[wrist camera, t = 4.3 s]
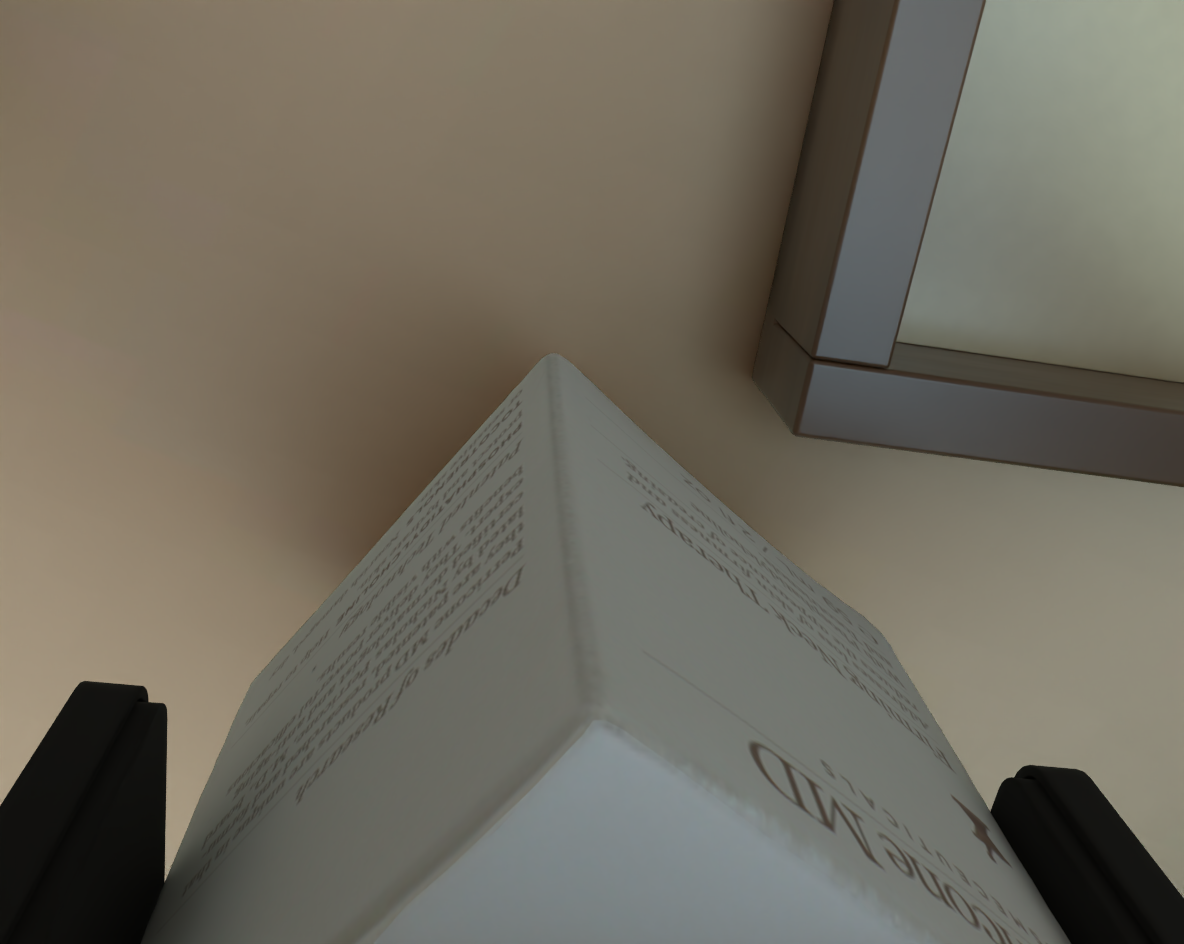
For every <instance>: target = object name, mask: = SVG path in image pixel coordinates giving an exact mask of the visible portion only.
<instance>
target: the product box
mask: <svg viewBox="0 0 1184 944" xmlns="http://www.w3.org/2000/svg"><path fill="white" fill-rule="evenodd" d="M141 944H1071V943H1070V941H1069V939H1068V938H1067V936H1066V934H1065V933H1064V931H1063V930H1062V928H1061V927H1060V925H1059V923H1058V922H1057V920H1056V919H1055V917H1054V916H1053V914H1052V913H1051V911H1050V909H1049V908H1048V906H1047V904H1046V903H1045V901H1044V899H1043V898H1042V896H1041V894H1040V893H1039V891H1038V889H1037V888H1036V886H1035V884H1034V883H1033V881H1032V879H1031V878H1030V876H1029V875H1028V873H1027V871H1026V870H1025V868H1024V867H1023V865H1022V864H1021V862H1020V861H1019V859H1018V857H1017V856H1016V854H1015V852H1014V851H1013V849H1012V848H1011V846H1010V844H1009V843H1008V841H1007V839H1006V838H1005V836H1004V834H1003V833H1002V831H1001V829H1000V828H999V826H998V824H997V823H996V821H995V819H994V817H993V816H992V814H991V812H990V811H989V809H988V807H987V805H986V804H985V802H984V800H983V798H982V797H981V795H980V794H979V792H978V791H977V789H976V788H975V786H974V784H973V782H972V780H971V779H970V777H969V775H968V773H967V772H966V770H965V768H964V767H963V765H962V763H961V762H960V760H959V758H958V757H957V755H956V754H955V752H954V750H953V749H952V747H951V746H950V744H949V742H948V741H947V739H946V737H945V736H944V734H943V732H942V730H941V729H940V727H939V726H938V724H937V722H936V721H935V719H934V717H933V716H932V714H931V713H930V711H929V709H928V708H927V706H926V704H925V703H924V701H923V699H922V697H921V696H920V694H919V692H918V691H917V689H916V688H915V686H914V684H913V683H912V681H911V680H910V678H909V676H908V675H907V673H906V672H905V670H904V668H903V667H902V665H901V664H900V662H899V660H898V659H897V657H896V655H895V653H894V651H893V649H892V647H891V646H890V644H889V643H888V641H887V640H886V639H885V637H884V636H883V635H882V633H881V632H880V631H878V630H877V629H876V628H875V627H874V626H873V625H872V624H871V623H870V622H869V621H868V620H867V619H866V618H865V617H864V616H862V615H861V614H859V613H858V612H857V611H855V610H854V609H852V608H851V607H850V606H848V605H847V604H845V603H844V602H842V601H841V600H840V599H838V598H837V597H836V596H835V595H833V594H832V593H831V592H830V591H828V590H827V589H826V588H824V587H823V586H821V585H820V584H818V583H817V582H816V581H815V580H813V579H812V578H811V577H810V576H808V575H807V574H806V573H805V572H803V571H802V570H801V569H800V568H799V567H797V566H796V565H795V564H794V563H793V562H791V561H790V560H789V559H788V558H786V557H785V556H784V555H783V554H782V553H780V552H779V551H778V550H777V549H775V548H774V547H773V546H772V545H771V544H770V543H768V542H767V541H766V540H765V539H764V538H763V537H761V536H760V535H759V534H758V533H757V532H756V531H754V530H753V529H752V528H751V527H750V526H748V525H747V524H746V523H745V522H744V521H743V520H742V519H740V518H739V517H738V516H737V515H736V514H735V513H734V512H732V511H731V510H730V509H729V508H728V507H727V506H726V505H724V504H723V503H722V502H721V501H720V500H719V499H718V498H716V497H715V496H714V495H713V494H712V493H711V492H710V491H709V490H708V489H707V488H705V487H704V486H703V485H702V484H701V483H700V482H699V481H697V480H696V479H695V478H694V477H693V476H692V475H691V474H690V473H688V472H687V471H686V470H685V469H684V468H683V467H682V466H681V465H679V464H678V463H677V462H676V461H675V460H674V459H673V458H672V457H671V456H669V455H668V454H667V453H666V452H665V451H664V450H663V449H662V448H661V447H660V446H658V445H657V444H656V443H655V442H654V441H653V440H652V439H651V438H650V437H649V436H648V435H647V434H646V433H644V432H643V431H642V430H641V429H640V428H639V427H638V426H637V425H636V424H635V423H634V422H633V421H632V420H631V419H630V418H628V417H627V416H626V415H625V414H624V413H623V412H622V411H621V410H620V409H619V408H618V407H617V406H616V405H615V404H614V403H613V402H612V401H611V400H610V399H609V398H608V397H607V396H605V395H604V394H603V393H602V392H601V391H600V390H599V389H598V388H597V387H596V386H595V385H594V384H593V383H592V382H591V381H590V380H589V379H588V378H587V377H586V376H584V375H583V374H582V373H581V372H580V371H579V370H578V369H577V368H576V367H575V366H574V365H573V364H572V363H571V362H569V361H568V360H567V359H566V358H564V357H562V356H561V355H559V354H556V353H551V354H548V355H546V356H545V357H543V358H542V359H541V360H540V361H539V362H538V363H537V364H536V365H535V366H534V367H533V368H532V370H531V371H530V372H529V373H528V374H527V375H526V377H525V378H524V379H523V380H522V381H521V382H520V383H519V384H518V386H517V387H515V388H514V389H513V390H512V391H511V393H510V394H509V395H508V396H507V398H506V399H505V400H504V401H503V402H502V403H501V404H500V406H499V407H498V408H497V409H496V410H495V411H494V412H493V413H492V414H491V416H490V417H489V418H488V419H487V420H486V421H485V422H484V423H483V424H482V426H481V427H480V428H479V429H478V430H477V431H476V432H475V433H474V434H473V436H472V437H471V438H470V439H469V440H468V441H467V442H466V443H465V445H464V446H463V447H462V448H461V449H460V450H459V451H458V452H457V453H456V455H455V456H454V457H453V458H452V459H451V460H450V461H449V462H448V464H447V465H446V466H445V467H444V468H443V469H442V470H441V471H440V472H439V473H438V474H437V476H436V477H435V478H434V479H433V480H432V481H431V482H430V484H429V485H428V486H427V487H426V488H425V489H424V490H423V491H422V493H421V494H420V495H419V496H418V497H417V498H416V499H415V500H414V502H413V503H412V504H411V505H410V506H409V507H408V508H407V509H406V511H405V512H404V513H403V514H402V515H401V516H400V517H399V518H398V520H397V521H396V522H395V523H394V524H393V525H392V526H391V527H390V529H389V530H388V531H387V532H386V533H385V534H384V535H383V537H382V538H381V539H380V540H379V541H378V542H377V543H376V544H375V546H374V547H373V548H372V549H371V550H370V551H369V552H368V554H367V555H366V556H365V557H364V558H363V559H362V560H361V561H360V563H359V564H358V565H357V566H356V567H355V568H354V569H353V570H352V571H351V572H350V573H349V574H348V576H347V577H346V578H345V579H344V580H343V581H342V583H341V584H340V585H339V586H338V587H337V588H336V589H335V591H334V592H333V593H332V594H331V595H330V596H329V597H328V598H327V599H326V600H325V601H324V602H323V604H322V605H321V606H320V607H319V608H318V610H317V611H316V612H315V613H314V614H313V615H312V616H311V617H310V618H309V619H308V620H307V621H306V622H305V623H304V625H303V626H302V627H301V628H300V629H299V630H298V631H297V632H296V633H295V635H294V636H293V637H292V638H291V639H290V640H289V641H288V642H287V644H286V645H285V646H284V647H283V648H282V649H281V650H280V651H279V652H278V653H277V655H276V656H275V657H274V658H273V659H272V660H271V661H270V662H269V664H268V665H267V666H266V667H265V668H264V669H263V670H262V671H261V673H260V674H259V675H258V676H257V677H256V678H255V679H254V681H253V682H252V683H251V685H250V687H249V689H248V691H247V693H246V696H245V698H244V700H243V702H242V704H241V706H240V708H239V710H238V712H237V714H236V717H235V719H234V721H233V723H232V726H231V728H230V731H229V733H228V736H227V738H226V741H225V743H224V745H223V747H222V749H221V752H220V754H219V756H218V758H217V760H216V763H215V766H214V768H213V771H212V773H211V775H210V777H209V779H208V782H207V784H206V786H205V788H204V790H203V792H202V794H201V797H200V799H199V802H198V804H197V806H196V809H195V811H194V814H193V816H192V818H191V821H190V823H189V826H188V828H187V831H186V833H185V835H184V838H183V840H182V843H181V845H180V847H179V850H178V852H177V855H176V857H175V859H174V862H173V864H172V867H171V869H170V871H169V874H168V876H167V878H166V881H165V883H164V886H163V888H162V890H161V893H160V896H159V898H158V901H157V904H156V906H155V909H154V911H153V913H152V915H151V918H150V920H149V922H148V925H147V928H146V931H145V933H144V936H143V939H142V942H141Z"/></svg>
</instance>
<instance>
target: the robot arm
mask: <svg viewBox="0 0 1184 944" xmlns="http://www.w3.org/2000/svg"><path fill="white" fill-rule="evenodd" d="M166 763H167V709H166V705H165V704H163V703H151V702H148V693H147V690H146V688H145V687H144V686H135V685H124V684H113V683H102V682H90V681H83V682H81V683H79V685H78V686H77V687H76V688H75V690H74V691H73V693H72V694H71V696H70V697H69V699H68V701H67V702H66V704H65V705H64V707H63V708H62V710H61V712H60V713H59V715H58V716H57V718H56V719H55V721H54V723H53V724H52V726H51V727H50V729H49V730H48V732H47V734H46V735H45V737H44V738H43V740H42V741H41V743H40V745H39V746H38V748H37V749H36V751H35V752H34V754H33V755H32V757H31V759H30V760H29V762H28V763H27V765H26V766H25V768H24V770H23V771H22V773H21V774H20V776H19V777H18V779H17V781H16V782H15V784H14V785H13V787H12V788H11V790H10V792H9V793H8V795H7V796H6V798H5V799H4V801H3V803H2V804H1V806H0V944H141V942H142V939H143V936H144V933H145V931H146V928H147V925H148V922H149V920H150V918H151V915H152V913H153V911H154V909H155V906H156V904H157V901H158V898H159V896H160V893H161V890H162V888H163V886H164V877H165V820H166ZM991 814H992V816H993V817H994V819H995V821H996V823H997V824H998V826H999V828H1000V829H1001V831H1002V833H1003V834H1004V836H1005V838H1006V839H1007V841H1008V843H1009V844H1010V846H1011V848H1012V849H1013V851H1014V852H1015V854H1016V856H1017V857H1018V859H1019V861H1020V862H1021V864H1022V865H1023V867H1024V868H1025V870H1026V871H1027V873H1028V875H1029V876H1030V878H1031V879H1032V881H1033V883H1034V884H1035V886H1036V888H1037V889H1038V891H1039V893H1040V894H1041V896H1042V898H1043V899H1044V901H1045V903H1046V904H1047V906H1048V908H1049V909H1050V911H1051V913H1052V914H1053V916H1054V917H1055V919H1056V920H1057V922H1058V923H1059V925H1060V927H1061V928H1062V930H1063V931H1064V933H1065V934H1066V936H1067V938H1068V939H1069V941H1070V943H1071V944H1184V898H1183V897H1182V896H1181V894H1180V893H1179V892H1178V891H1177V889H1176V888H1175V887H1174V885H1173V884H1172V883H1171V882H1170V880H1169V879H1168V878H1167V876H1166V875H1165V874H1164V872H1163V871H1162V870H1161V869H1160V867H1159V866H1158V865H1157V863H1156V862H1155V861H1154V860H1153V858H1152V857H1151V856H1150V854H1149V853H1148V852H1147V850H1146V849H1145V848H1144V847H1143V845H1142V844H1141V843H1140V841H1139V840H1138V839H1137V838H1136V836H1135V835H1134V834H1133V832H1132V831H1131V830H1130V829H1129V827H1128V826H1127V825H1126V823H1125V822H1124V821H1123V819H1122V818H1121V817H1120V816H1119V814H1118V813H1117V812H1116V810H1115V809H1114V808H1113V807H1112V805H1111V804H1110V803H1109V801H1108V800H1107V799H1106V797H1105V796H1104V795H1103V794H1102V792H1101V791H1100V790H1099V788H1098V787H1097V786H1096V785H1095V783H1094V782H1093V781H1092V779H1091V778H1090V777H1089V776H1088V775H1087V774H1086V773H1085V772H1083V771H1080V770H1077V769H1068V768H1057V767H1046V766H1035V765H1028V766H1024V767H1022V768H1021V769H1020V770H1019V771H1018V772H1017V774H1016V775H1015V777H1014V778H1012V777H1011V778H1007V779H1006V780H1004V781H1003V782H1002V784H1001V786H1000V788H999V790H998V793H997V795H996V798H995V801H994V804H993V806H992V809H991Z"/></svg>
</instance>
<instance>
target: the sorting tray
mask: <svg viewBox="0 0 1184 944" xmlns="http://www.w3.org/2000/svg"><path fill="white" fill-rule="evenodd" d="M752 380H753V381H754V383H755V384H756V385H757V387H758V388H759V389H760V390H761V391H762V393H763V394H764V396H765V397H766V398H767V400H768V401H769V402H770V404H771V405H772V406H773V408H774V409H775V411H776V412H777V413H778V415H779V416H780V417H781V419H782V420H783V422H784V423H785V424H786V426H787V427H788V428H789V430H790V431H791V433H792V434H793V435H795V436H797V437H805V438H812V439H820V440H828V441H835V442H843V443H850V444H858V445H866V446H873V447H881V448H889V449H896V450H904V451H912V452H919V453H927V454H934V455H942V456H950V457H957V458H965V459H973V460H980V461H988V462H996V463H1003V464H1011V465H1019V466H1026V467H1034V468H1041V469H1049V470H1057V471H1064V472H1072V473H1080V474H1087V475H1095V476H1103V477H1110V478H1118V479H1126V480H1133V481H1141V482H1148V483H1156V484H1164V485H1171V486H1179V487H1184V0H834V4H833V9H832V13H831V18H830V23H829V27H828V32H827V36H826V41H825V45H824V50H823V55H822V59H821V64H820V68H819V73H818V77H817V82H816V87H815V91H814V96H813V100H812V105H811V109H810V114H809V119H808V123H807V128H806V132H805V137H804V141H803V146H802V151H801V155H800V160H799V164H798V169H797V173H796V178H795V183H794V187H793V192H792V196H791V201H790V205H789V210H788V215H787V219H786V224H785V228H784V233H783V237H782V242H781V247H780V251H779V256H778V260H777V265H776V269H775V274H774V279H773V283H772V288H771V292H770V297H769V302H768V306H767V311H766V315H765V320H764V324H763V329H762V334H761V338H760V343H759V347H758V352H757V356H756V361H755V366H754V370H753V375H752Z"/></svg>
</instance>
